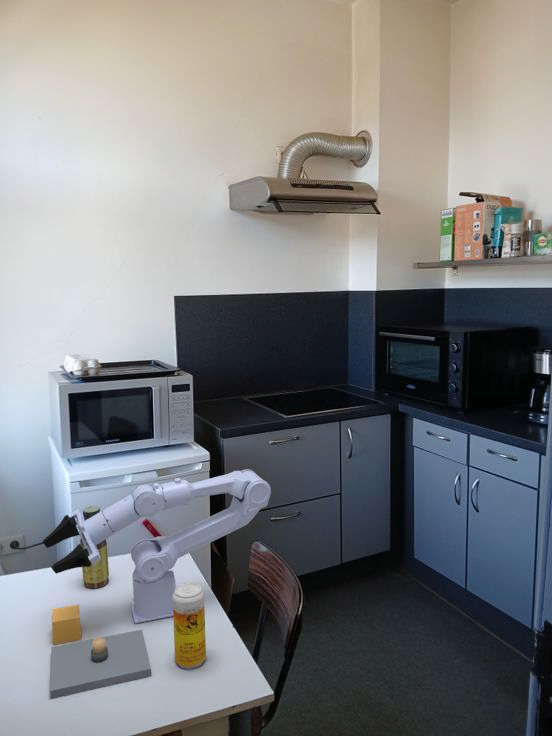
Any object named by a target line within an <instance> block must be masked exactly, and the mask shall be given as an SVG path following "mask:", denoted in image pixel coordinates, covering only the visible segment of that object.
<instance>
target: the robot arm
mask: <svg viewBox="0 0 552 736" xmlns="http://www.w3.org/2000/svg"><path fill="white" fill-rule="evenodd" d="M221 494H230V496H231V495H232V500H231V503H230V506H229V507H228V508H226V509H223V510H222V511H219V512H217V513H215V514H213V515H211V516H209V517H206V518H205V519H202V520H200V521H198V522H197V523H194V524H192V525H190V526H188V527H186V528H183V529H181V530H179V531H177V532H175V533H173V534H171V535H169V536H167V535H166V536H163V535H161V536H159V535H158V536H156V537H153V538H143V539H141V540H139V541H137V542H136V543H135V544H134V545H133V547H132V549H131V551H130V556H131V560H132V562H133V563H134V565H135V566H134V567H135V568H134V570H133V572H132V589H133V593H132V594H133V603H131V604H130V608H131V613H132V618H133V621H134V623H135V624H139V623H144V622H149V621H155V620H160V619H164V618H170V617H173V594H174V591H175V589H176V587H177V586H176V585H177V584H176V578H175V572H174V571H173V570H171V569H173V568H174V567H175V565H176V563H177V561H178V559H180V558H182V557H183V556H186V555H188V554H190V553H192V552H194V551H196V550H198V549H200V548H202V547H204V546H206V545H209V544H211V543H213V542H214V541H216V540H220V538H222V537H225V536H227V535H229V534H231V533H233V532H235V531H238V530H239V529H241V528H243V527H245V526H247V525H248V524H249V523H251V521H252V520H253V519H254V518H255V516H256V515H257V514H258V513H259V512H260V510H261V509H264V508H266V507H267V506H268V504H269V500H270V499H271V495H272V489H271V485H270V484H269V483H268V482H267V481H266V480H264V479H263V478H261V477H260V476H259V475H258V474H257V473H256V472H255V471H253V470H252V469H249V468H248V469H242V470H233V471H232V472H229V473H227V474H223V475H218V476H215V477H212V478H206V479H203V480H200V481H196V482H192V483H191V482H189V481H187V480H186V479H181V478H180V477H177V478H174V480H173V481H170V482H165V483H160V484H159V483H158V482H155V483H152V486H151V485H149V484H141V485H138V484H137V485H136V486H134V487H133V489H132V490H131V492H130V493H129V495H127V496H126V497H124V498H122V499H120V500H118V501H117V502H115V503H113V504H112V505H110V506H108V507H106V508H104V509H102V510H100V512H99V513H98V514H96V515H94V516H92V517H91V518H89V519H87V520H86V521H85V520H84V516H83V513H82V512H81V511H80V509H79V508H78V509H76V510H74V511H72V512H71V513H70V516H69V515H68V514H66V515H65V516H63V518H62V520H61V521H60V522H59V524H58V525H57V526H56V527H55V529H54V530H53V531H52V532H51V533H50V534H48V536H46V537H45V538H44V539H43V540H42V544H43V545H44V546H45V548H47V549H49V548H51V547H53V546H55V545H57V544H59V543H61V542H63V541H65V540H67V539H70V538H73V537H77V536H80V539H82V542H83V544H84V547H85V549H84V548H83V547H82V546H81V544H80V543H78V544H77V545H76V547H75V548H73V549H72V551H70V552H69V553H68V554H67V555H65V556H64V557H63V558H61V559H59V560H58V561H56V562H55V563H54V564H52V565H51V570H52V572H54V573H55V574H59V573H64V572H65V571H70V570H72V569H73V570H74V569H76V568H78V569H79V568H82V567H90V566H91V565H92V564H95V563H97V562H98V561H100V560H101V558H100V555H99V552H98V549H97V546H96V545H97V544H98V543H100V542H102V541H104V540H105V539H106V540H107V539H109V538H110V537H112V536H114V535H115V534H117V533H119V532H120V531H122V530H124V529H125V528H128V527H129V526H130V525H132V524H133V523H135V522H137V521H139V520H140V519H142V518H154V517H155V516H156V515H158V513H160V512H161V511H164V510H170V509H175V508H178V507H183V506H188V505H190V504H191V502H192V501H193V500H194V499H196V498H202V497H207V496H208V497H209V496H214V495H215V496H216V495H221ZM82 533H83V534H84V536H85V538H86V542H85V539H84V537H83V534H82ZM91 563H92V564H91Z"/></svg>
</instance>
